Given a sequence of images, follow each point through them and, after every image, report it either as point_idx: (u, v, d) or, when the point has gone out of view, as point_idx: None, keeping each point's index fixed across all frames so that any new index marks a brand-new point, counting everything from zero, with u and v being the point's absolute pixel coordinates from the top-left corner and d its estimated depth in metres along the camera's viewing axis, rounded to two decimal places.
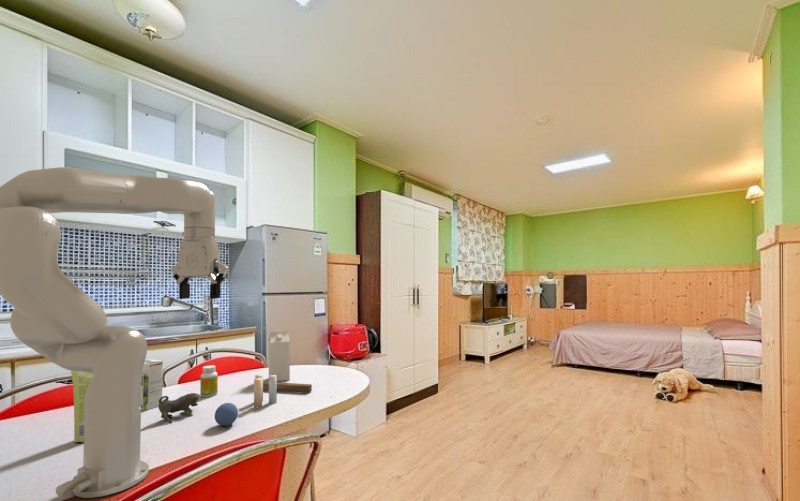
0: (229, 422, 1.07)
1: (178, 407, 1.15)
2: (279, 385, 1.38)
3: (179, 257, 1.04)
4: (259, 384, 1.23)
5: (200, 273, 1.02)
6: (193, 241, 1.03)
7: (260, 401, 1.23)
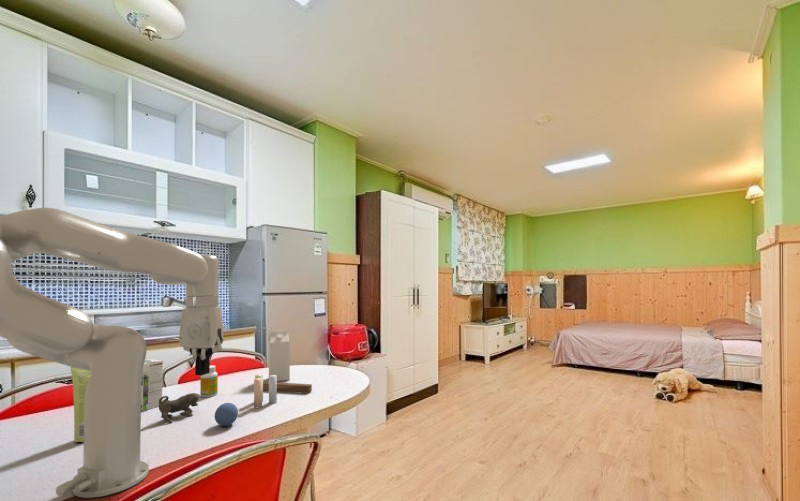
0: (229, 422, 1.07)
1: (178, 407, 1.15)
2: (279, 385, 1.38)
3: (181, 327, 0.99)
4: (259, 384, 1.23)
5: (203, 345, 0.97)
6: (195, 310, 0.98)
7: (260, 401, 1.23)
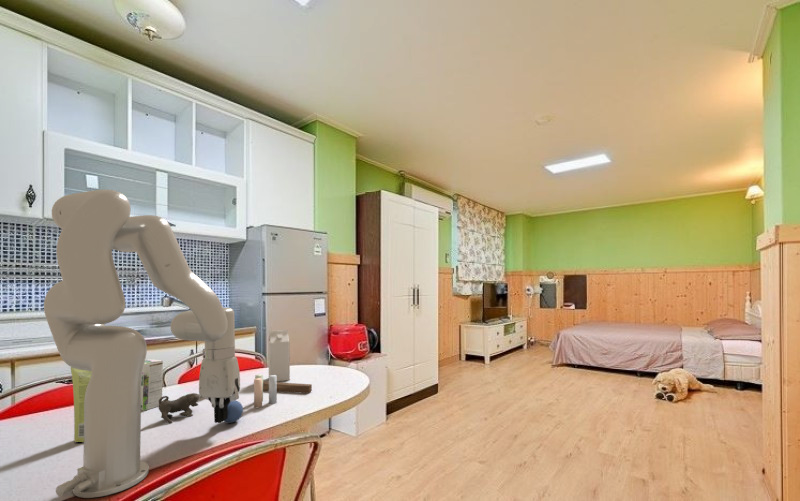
0: (233, 417, 1.08)
1: (178, 407, 1.15)
2: (279, 385, 1.38)
3: (200, 377, 1.05)
4: (259, 384, 1.23)
5: (221, 395, 1.03)
6: (214, 362, 1.04)
7: (260, 401, 1.23)
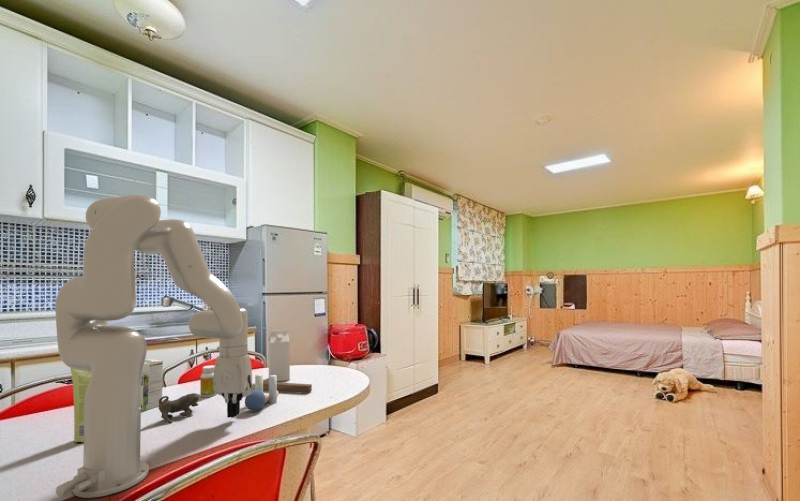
0: None
1: (178, 407, 1.15)
2: (279, 385, 1.38)
3: (214, 373, 1.11)
4: None
5: (235, 391, 1.09)
6: (228, 359, 1.10)
7: (267, 399, 1.26)
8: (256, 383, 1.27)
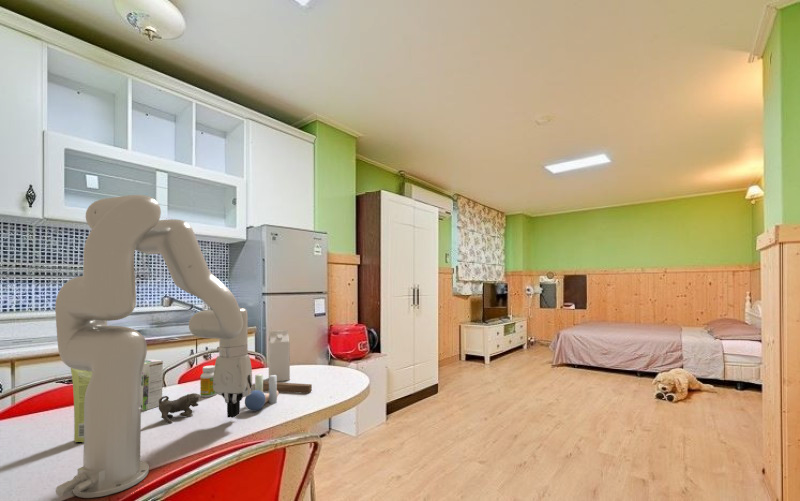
0: None
1: (178, 407, 1.15)
2: (279, 385, 1.38)
3: (214, 373, 1.11)
4: None
5: (235, 391, 1.09)
6: (228, 359, 1.10)
7: (267, 399, 1.26)
8: (256, 383, 1.27)
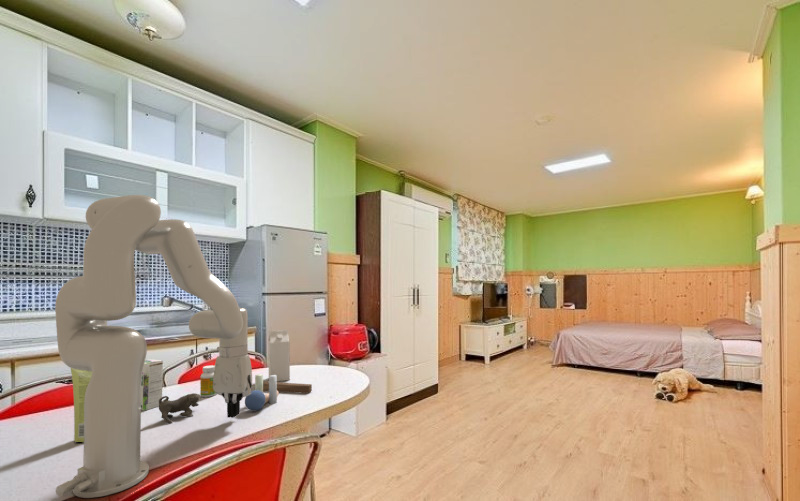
0: None
1: (178, 407, 1.15)
2: (279, 385, 1.38)
3: (214, 373, 1.11)
4: None
5: (235, 391, 1.09)
6: (228, 359, 1.10)
7: (267, 399, 1.26)
8: (256, 383, 1.27)
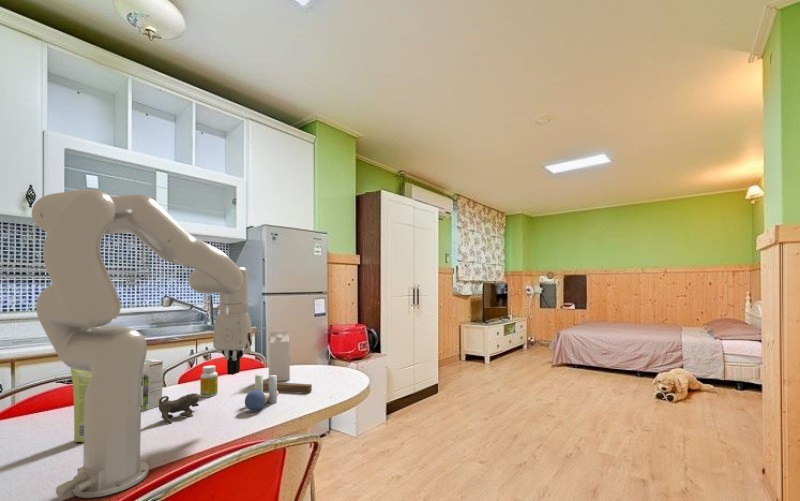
0: None
1: (178, 407, 1.14)
2: (279, 385, 1.38)
3: (215, 331, 1.11)
4: None
5: (235, 347, 1.09)
6: (228, 317, 1.10)
7: (267, 399, 1.26)
8: (256, 383, 1.27)
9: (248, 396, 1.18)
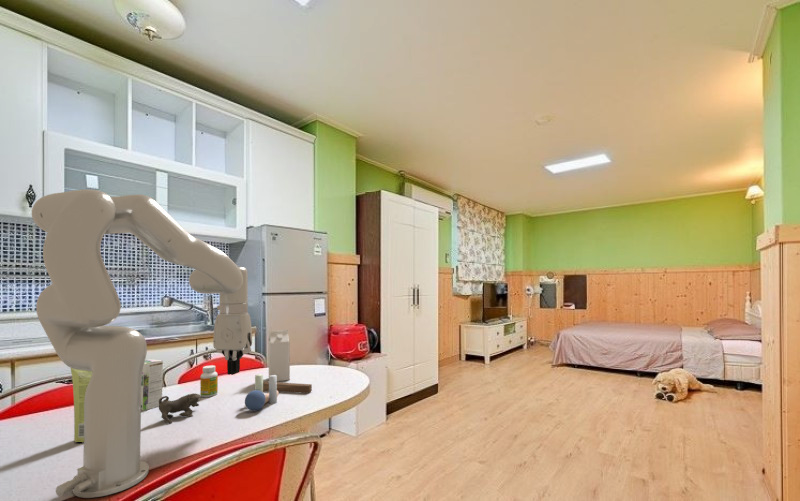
0: None
1: (178, 407, 1.14)
2: (279, 385, 1.38)
3: (215, 331, 1.11)
4: None
5: (235, 347, 1.09)
6: (228, 317, 1.10)
7: (267, 399, 1.26)
8: (256, 383, 1.27)
9: (248, 396, 1.18)
